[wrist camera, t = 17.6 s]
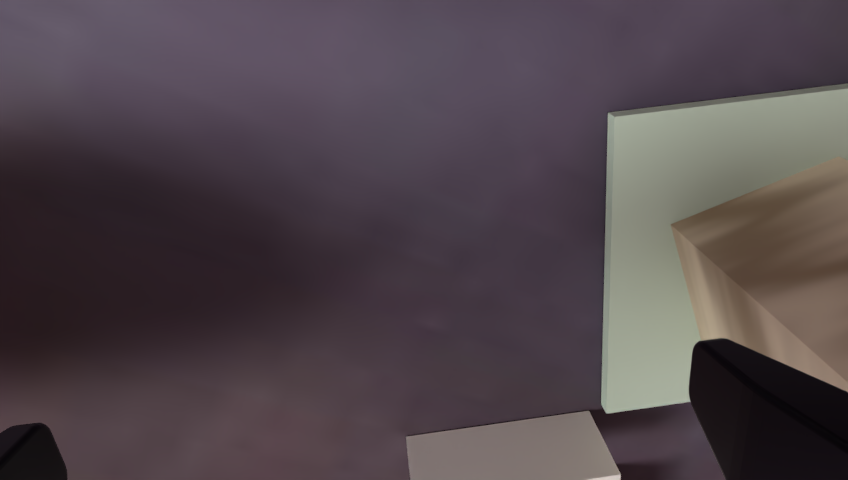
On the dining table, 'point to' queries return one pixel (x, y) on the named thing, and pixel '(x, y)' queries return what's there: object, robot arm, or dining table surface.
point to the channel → (515, 451)
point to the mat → (681, 198)
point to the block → (776, 270)
